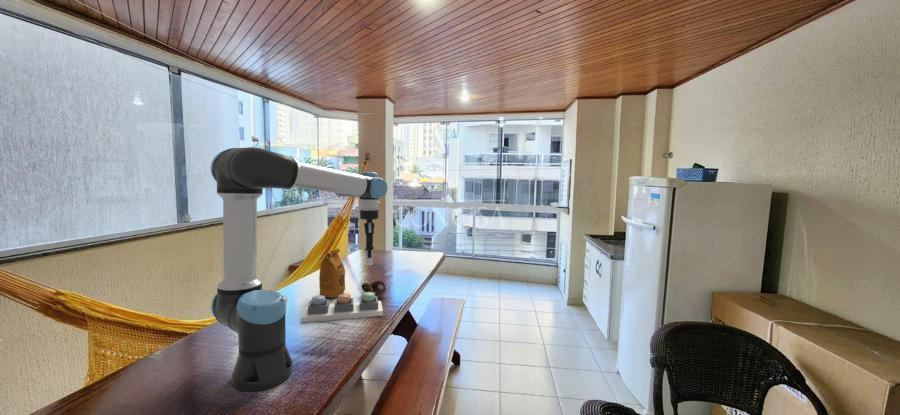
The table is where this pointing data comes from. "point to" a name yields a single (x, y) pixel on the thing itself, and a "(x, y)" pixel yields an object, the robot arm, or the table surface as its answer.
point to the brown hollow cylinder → (374, 288)
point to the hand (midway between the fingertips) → (369, 264)
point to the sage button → (368, 297)
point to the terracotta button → (344, 298)
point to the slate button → (318, 300)
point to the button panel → (342, 310)
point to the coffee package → (332, 275)
